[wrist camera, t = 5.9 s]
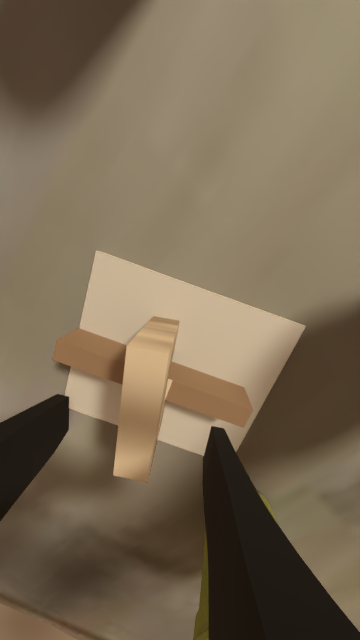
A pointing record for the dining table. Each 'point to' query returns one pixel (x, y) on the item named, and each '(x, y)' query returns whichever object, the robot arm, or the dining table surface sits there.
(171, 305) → the rail board
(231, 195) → the dining table surface
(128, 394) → the maple plate
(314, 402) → the dining table surface
